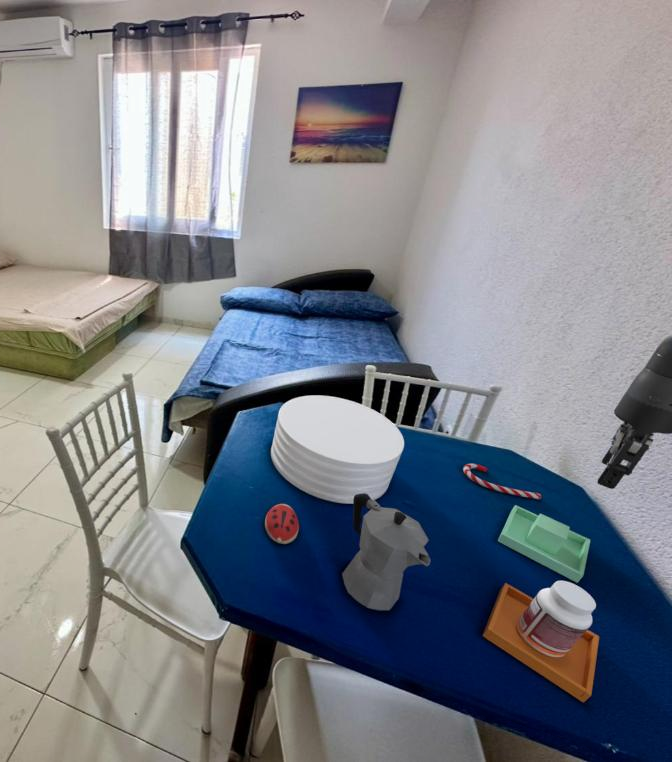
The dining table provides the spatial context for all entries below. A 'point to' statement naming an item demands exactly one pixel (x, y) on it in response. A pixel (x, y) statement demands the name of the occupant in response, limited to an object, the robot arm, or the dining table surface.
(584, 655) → the amber tray
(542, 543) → the mint block
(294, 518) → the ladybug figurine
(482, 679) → the dining table surface
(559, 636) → the pill bottle
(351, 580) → the coffeepot
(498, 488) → the candy cane
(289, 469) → the plate stack
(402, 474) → the dining table surface
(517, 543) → the mint tray
